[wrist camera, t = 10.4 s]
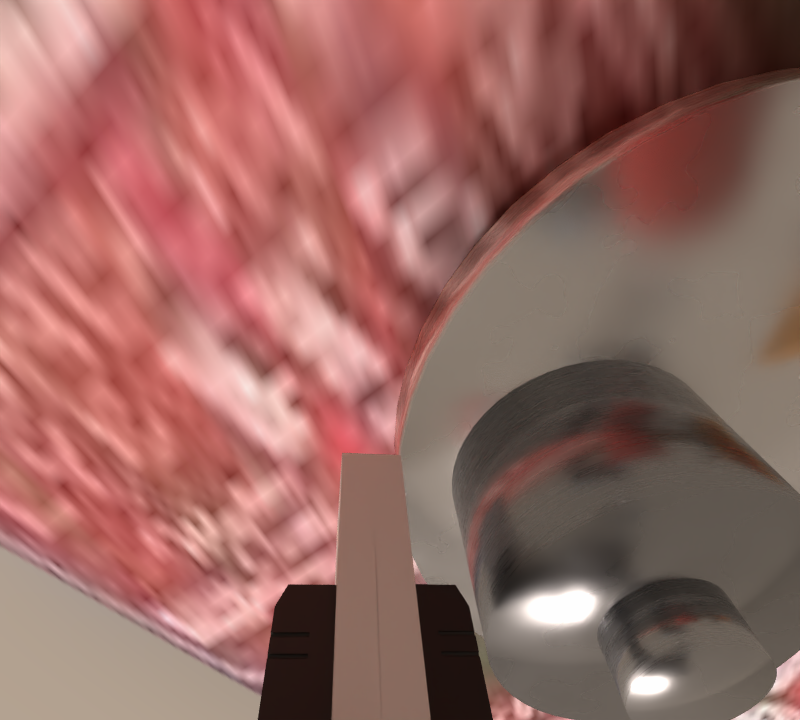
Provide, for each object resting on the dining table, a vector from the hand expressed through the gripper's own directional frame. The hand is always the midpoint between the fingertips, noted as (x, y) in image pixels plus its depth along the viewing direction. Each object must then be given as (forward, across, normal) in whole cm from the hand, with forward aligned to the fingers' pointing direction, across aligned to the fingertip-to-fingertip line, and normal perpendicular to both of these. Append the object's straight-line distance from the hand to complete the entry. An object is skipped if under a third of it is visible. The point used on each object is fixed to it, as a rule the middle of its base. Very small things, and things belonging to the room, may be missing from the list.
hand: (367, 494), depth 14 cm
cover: (+2, +7, 0) cm, 7 cm away
